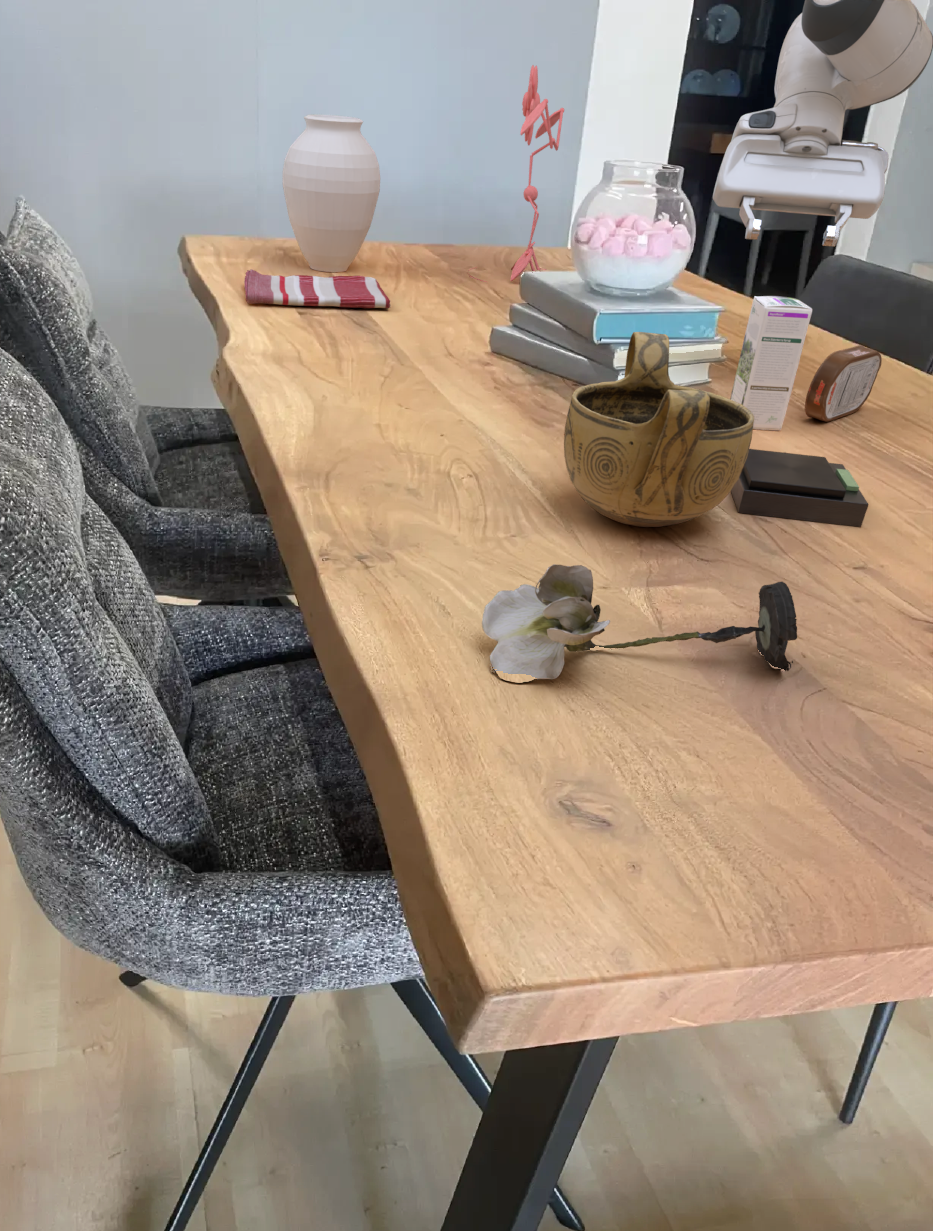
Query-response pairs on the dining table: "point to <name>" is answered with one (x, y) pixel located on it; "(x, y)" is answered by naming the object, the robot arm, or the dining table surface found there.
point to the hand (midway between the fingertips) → (791, 239)
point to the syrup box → (770, 358)
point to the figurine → (532, 113)
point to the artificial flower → (602, 624)
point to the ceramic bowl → (653, 442)
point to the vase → (331, 190)
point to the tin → (842, 383)
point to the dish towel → (315, 290)
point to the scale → (798, 489)
